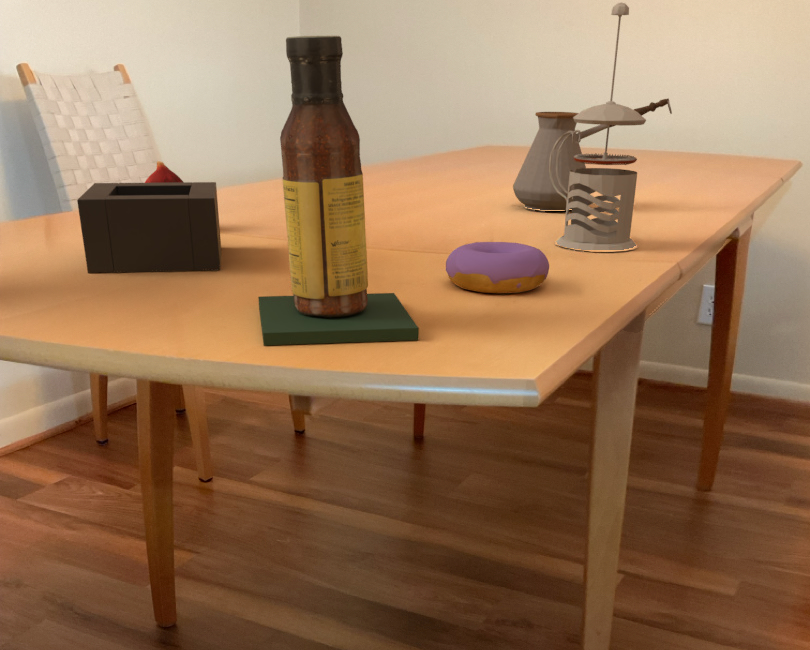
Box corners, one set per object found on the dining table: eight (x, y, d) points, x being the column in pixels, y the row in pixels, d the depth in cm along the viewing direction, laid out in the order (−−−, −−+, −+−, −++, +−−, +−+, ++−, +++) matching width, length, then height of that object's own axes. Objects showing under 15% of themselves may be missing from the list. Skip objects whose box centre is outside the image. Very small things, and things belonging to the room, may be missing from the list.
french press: (615, 256, 103) (645, -2, 91) (526, 243, 109) (543, 1, 98) (651, 244, 110) (683, 3, 98) (565, 233, 116) (586, 5, 105)
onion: (195, 226, 118) (189, 159, 114) (189, 233, 113) (182, 164, 109) (149, 226, 117) (142, 158, 114) (141, 233, 112) (132, 163, 109)
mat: (263, 345, 70) (262, 332, 69) (259, 307, 80) (258, 296, 80) (418, 340, 71) (418, 327, 71) (394, 303, 82) (394, 292, 81)
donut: (532, 270, 94) (539, 223, 91) (556, 310, 87) (564, 261, 84) (436, 271, 92) (439, 224, 89) (452, 312, 85) (456, 263, 82)
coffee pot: (508, 212, 131) (515, 96, 124) (514, 201, 141) (521, 93, 134) (661, 218, 128) (677, 100, 121) (655, 207, 138) (670, 96, 131)
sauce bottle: (370, 302, 78) (369, 36, 69) (365, 321, 72) (362, 35, 63) (294, 301, 78) (282, 35, 69) (283, 319, 73) (268, 34, 63)
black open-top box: (87, 273, 92) (76, 199, 89) (103, 249, 103) (94, 183, 100) (220, 270, 94) (214, 198, 91) (221, 246, 105) (216, 182, 102)
